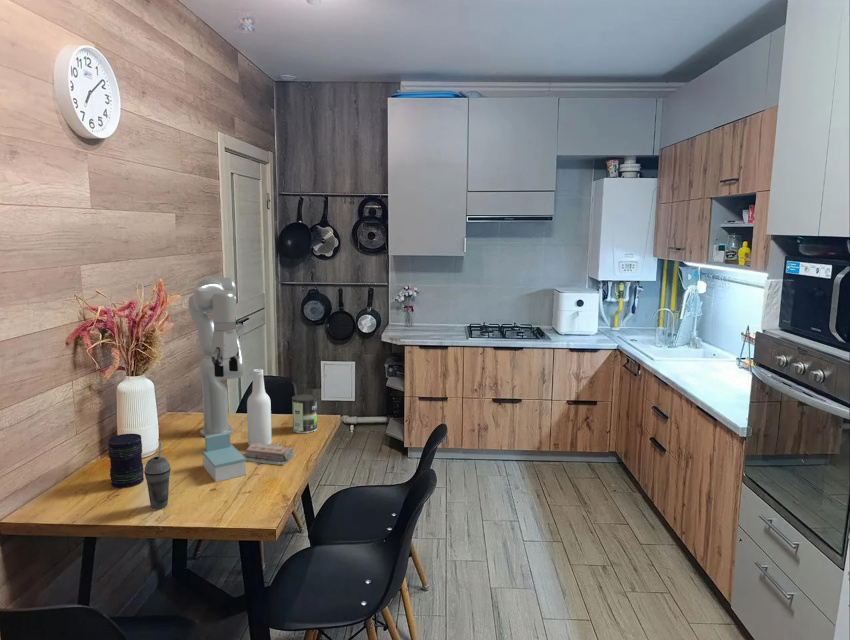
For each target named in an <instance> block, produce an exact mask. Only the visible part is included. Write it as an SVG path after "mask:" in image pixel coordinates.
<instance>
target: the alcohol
mask: <svg viewBox="0 0 850 640" xmlns="http://www.w3.org/2000/svg"><path fill="white" fill-rule="evenodd" d="M265 388H266V387H265V378H264V369H263V368H256V369H252V391H251V393H250V394H249V395H248V398H247V401H246V410H247V411H246V415H247V420H246V421H247V444H248V446H249V445H250V444H251V443H262V444H269V445H272V410H271V409H272V406H271V402H272V401H271V398H270V396H269V395H268V393H267V392H266V389H265Z"/></svg>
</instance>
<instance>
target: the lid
mask: <svg viewBox="0 0 850 640" xmlns="http://www.w3.org/2000/svg"><path fill="white" fill-rule="evenodd" d="M204 442H205V444H204V445H205V449H204V450H201V453H202V456H203V455H204V456H205V457H206V458H207V459H208V461H209V462H210V463H211V464H212V465H213V467H214V468H218V467H223V466H228V465H232V464H237V463H241V462H245V463H246V462H247V461H246V458H245V457H244V456H243V455H244V454H242V452H240V451H239V450H238V449H237V448H236V447H235V446H234V445H233V444H231V433H228V432H226V433H221V434H215V435H210V436H204Z"/></svg>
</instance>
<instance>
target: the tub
mask: <svg viewBox="0 0 850 640" xmlns="http://www.w3.org/2000/svg"><path fill="white" fill-rule="evenodd" d="M202 458H203V459H202V460H203V461H202V464H203V468H204V469H205V470H207V471H206V472H207V473H208V474H209V475H210V477H211V478H212V480H214V482H215V483H218V482H222V481H223V482H224V481H227V480H232V479H235V478H241V477H244V476H247V473H246V472H247V471H246V470H247V468H246V462H241V463H237V464H232V465H228V466H223V467H218V468H214V467H213V465H212V464H211V463H210V462H209V461H208V459H207V458H206V457H205V456H204V455H203V454H202Z"/></svg>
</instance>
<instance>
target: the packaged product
mask: <svg viewBox="0 0 850 640" xmlns="http://www.w3.org/2000/svg"><path fill="white" fill-rule="evenodd" d="M244 452H245V453H243V454H242V455H243V456H244V457H245V458H246V462H253V463H254V462H255V463H261V464H265V465H266V464H269V465H274V466H275V465H276V466H284V465H286V464H288V463H289V462H290V461H291V460H292V459H294V458H295V457H296V453H295V452H293V447H290V446H285V445H284V446H283V445H277V444H276V445H275V444H270V445H269V444H262V443H251V444H250V445H249V444H248V447H246V449H245V450H244Z"/></svg>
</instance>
